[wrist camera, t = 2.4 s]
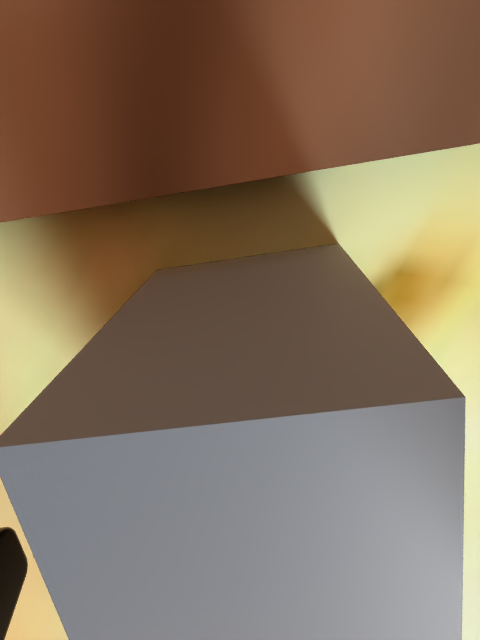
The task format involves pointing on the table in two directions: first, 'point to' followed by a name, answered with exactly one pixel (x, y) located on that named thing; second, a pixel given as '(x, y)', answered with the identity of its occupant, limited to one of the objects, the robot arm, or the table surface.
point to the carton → (247, 463)
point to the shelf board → (222, 92)
